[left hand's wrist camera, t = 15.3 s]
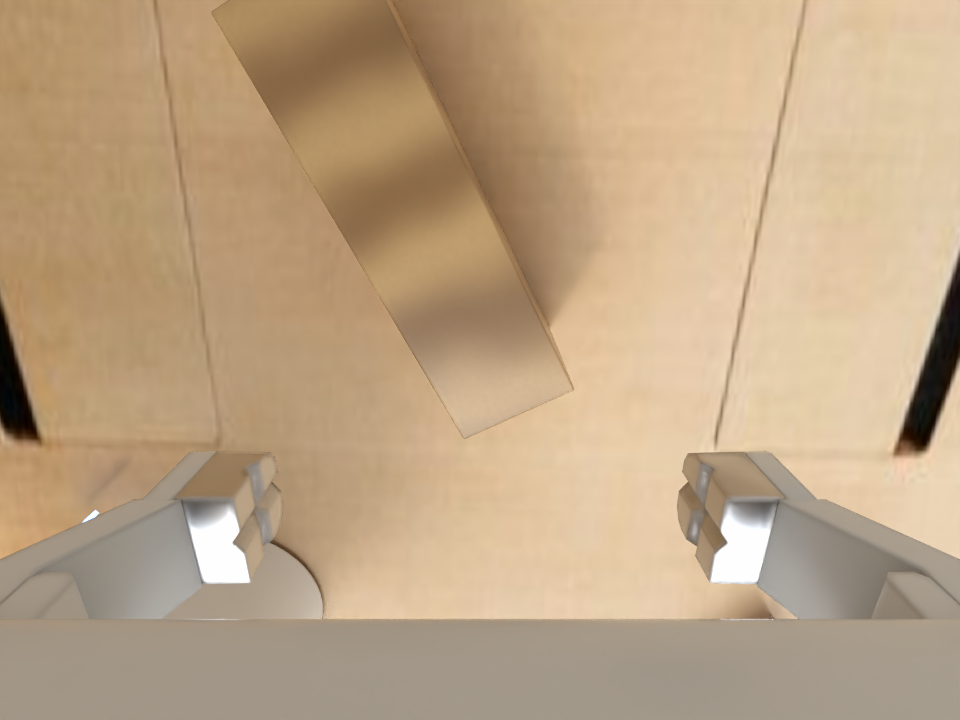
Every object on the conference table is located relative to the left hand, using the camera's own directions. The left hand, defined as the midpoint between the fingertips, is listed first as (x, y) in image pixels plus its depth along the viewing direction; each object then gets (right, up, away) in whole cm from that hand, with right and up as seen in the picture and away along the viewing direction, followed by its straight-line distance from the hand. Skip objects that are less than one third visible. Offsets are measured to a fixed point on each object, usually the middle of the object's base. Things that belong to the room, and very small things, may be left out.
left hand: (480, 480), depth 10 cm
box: (-3, +12, +22) cm, 25 cm away
